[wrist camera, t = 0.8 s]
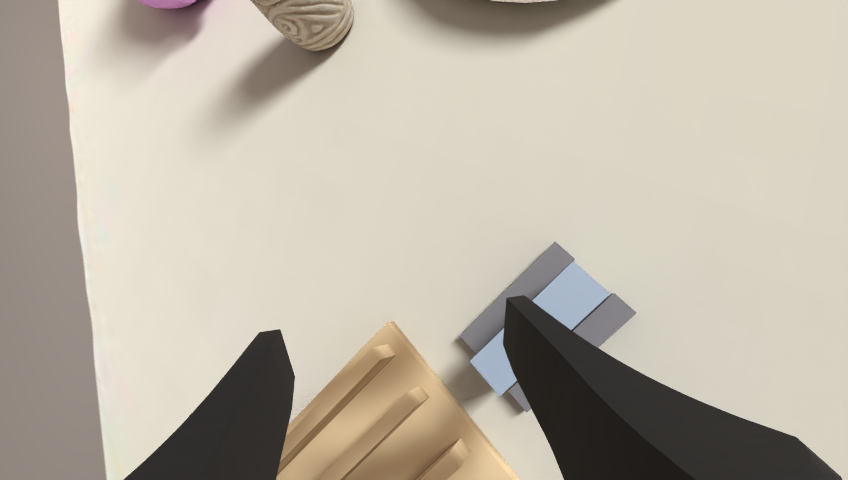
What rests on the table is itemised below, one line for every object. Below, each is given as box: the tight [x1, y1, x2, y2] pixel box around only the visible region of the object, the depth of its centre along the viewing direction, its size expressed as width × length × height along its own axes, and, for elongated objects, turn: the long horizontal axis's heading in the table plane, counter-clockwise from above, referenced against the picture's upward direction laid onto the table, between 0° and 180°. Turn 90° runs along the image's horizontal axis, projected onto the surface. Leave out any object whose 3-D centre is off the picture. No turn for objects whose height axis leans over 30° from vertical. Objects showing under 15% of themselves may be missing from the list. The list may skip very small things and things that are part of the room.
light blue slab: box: [470, 261, 610, 396], centre depth 22 cm, size 2×8×5 cm, turn 133°
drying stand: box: [460, 242, 636, 412], centre depth 23 cm, size 6×9×1 cm
